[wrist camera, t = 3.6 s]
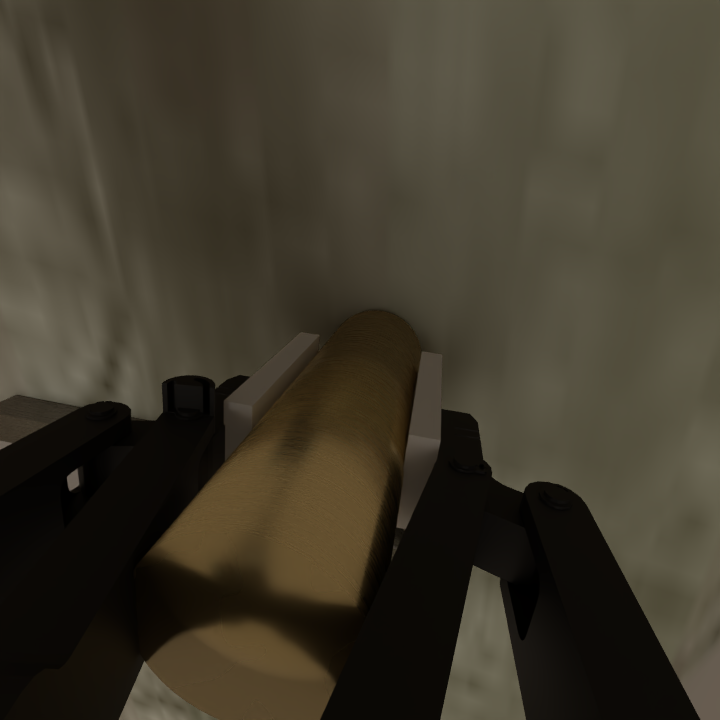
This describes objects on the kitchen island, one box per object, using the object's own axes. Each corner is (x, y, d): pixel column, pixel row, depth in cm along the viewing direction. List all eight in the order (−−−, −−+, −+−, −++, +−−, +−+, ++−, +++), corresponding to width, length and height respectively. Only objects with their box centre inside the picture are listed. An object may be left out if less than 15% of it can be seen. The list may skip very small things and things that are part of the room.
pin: (335, 303, 19) (115, 505, 6) (428, 317, 19) (392, 567, 6) (327, 388, 21) (132, 697, 8) (413, 403, 20) (359, 760, 7)
